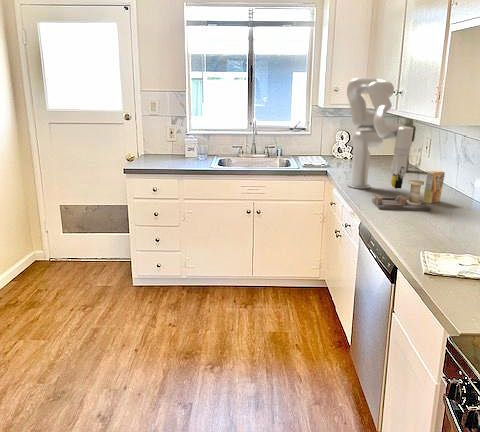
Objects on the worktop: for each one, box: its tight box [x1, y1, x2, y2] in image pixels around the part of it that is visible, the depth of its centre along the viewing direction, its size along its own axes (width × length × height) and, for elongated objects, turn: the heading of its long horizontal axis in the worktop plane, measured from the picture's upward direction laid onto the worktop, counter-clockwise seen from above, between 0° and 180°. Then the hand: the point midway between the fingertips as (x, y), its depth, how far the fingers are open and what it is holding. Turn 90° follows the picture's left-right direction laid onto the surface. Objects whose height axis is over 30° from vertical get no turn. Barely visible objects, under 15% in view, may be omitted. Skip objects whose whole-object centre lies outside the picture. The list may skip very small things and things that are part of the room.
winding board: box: [371, 194, 432, 212], centre depth 222 cm, size 14×24×4 cm, turn 88°
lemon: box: [390, 175, 404, 190], centre depth 234 cm, size 6×6×8 cm
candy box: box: [422, 170, 446, 204], centre depth 230 cm, size 9×4×15 cm, turn 123°
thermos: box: [400, 117, 417, 173], centre depth 303 cm, size 9×12×35 cm
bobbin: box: [406, 179, 425, 206], centre depth 220 cm, size 7×7×11 cm
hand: (396, 186), depth 235 cm, fingers closed on lemon, 5 cm apart
